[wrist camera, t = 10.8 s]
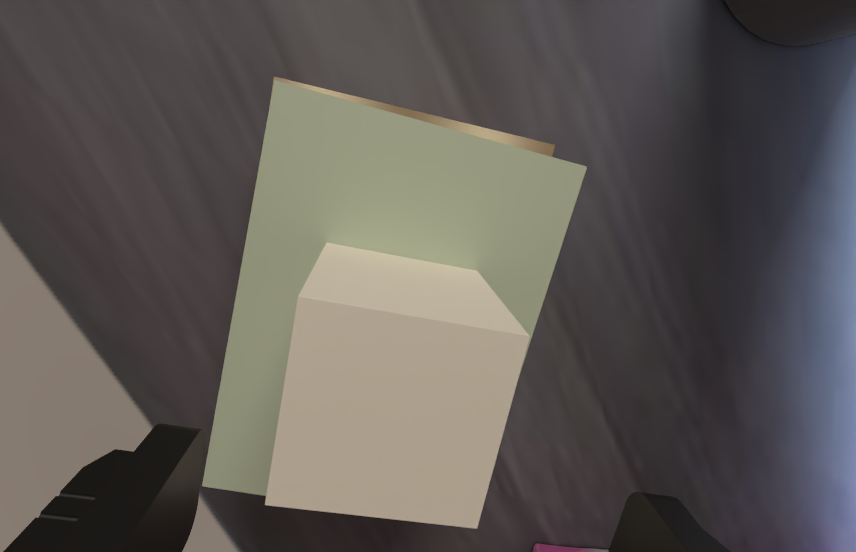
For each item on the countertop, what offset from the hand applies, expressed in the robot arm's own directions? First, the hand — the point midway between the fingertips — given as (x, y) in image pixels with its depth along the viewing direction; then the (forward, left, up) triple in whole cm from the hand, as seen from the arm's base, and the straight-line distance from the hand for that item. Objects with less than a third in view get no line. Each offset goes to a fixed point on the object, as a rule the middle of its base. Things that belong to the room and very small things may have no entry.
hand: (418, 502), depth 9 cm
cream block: (0, 0, -8) cm, 8 cm away
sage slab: (+1, 0, -12) cm, 12 cm away
